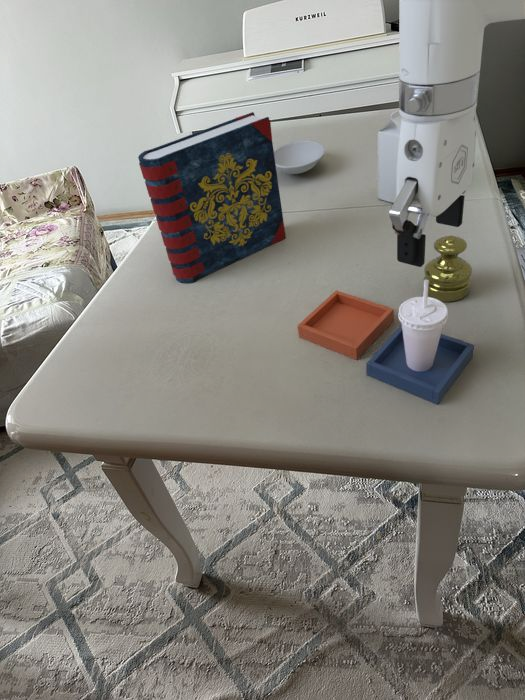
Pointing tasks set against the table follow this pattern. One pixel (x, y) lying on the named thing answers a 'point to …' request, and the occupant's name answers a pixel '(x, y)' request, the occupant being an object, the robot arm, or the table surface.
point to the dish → (298, 156)
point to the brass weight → (448, 270)
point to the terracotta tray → (346, 324)
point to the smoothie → (422, 329)
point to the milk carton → (388, 158)
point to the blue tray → (423, 384)
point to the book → (215, 195)
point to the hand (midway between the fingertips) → (430, 242)
